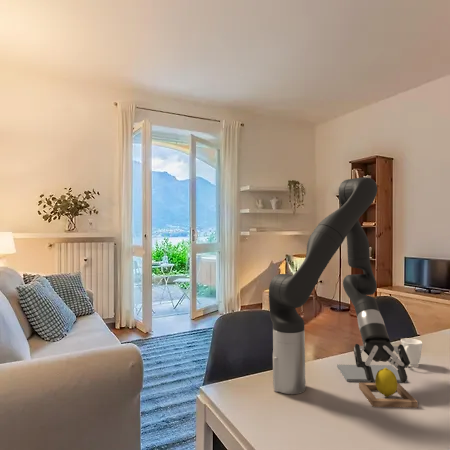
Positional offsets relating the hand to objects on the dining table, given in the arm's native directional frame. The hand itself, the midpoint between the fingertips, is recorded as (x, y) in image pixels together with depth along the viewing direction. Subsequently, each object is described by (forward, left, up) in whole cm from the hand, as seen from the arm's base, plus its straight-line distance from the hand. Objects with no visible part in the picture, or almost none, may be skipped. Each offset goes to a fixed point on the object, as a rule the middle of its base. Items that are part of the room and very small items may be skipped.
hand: (388, 381), depth 97 cm
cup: (+17, +25, -5) cm, 31 cm away
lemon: (0, +1, -5) cm, 5 cm away
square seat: (0, +1, -5) cm, 5 cm away
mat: (+1, +17, -5) cm, 18 cm away
